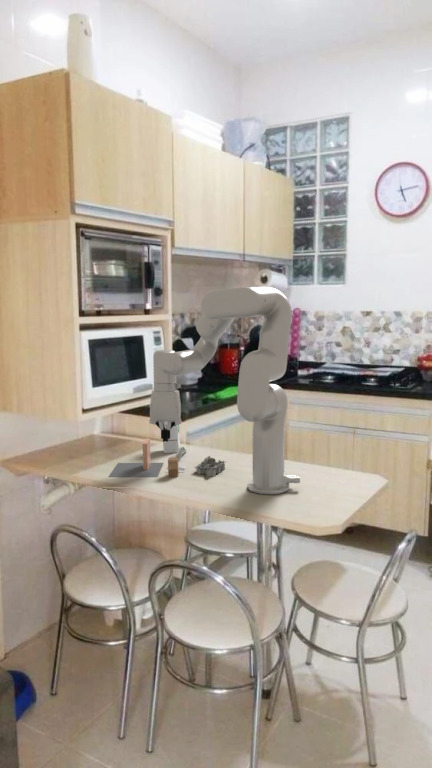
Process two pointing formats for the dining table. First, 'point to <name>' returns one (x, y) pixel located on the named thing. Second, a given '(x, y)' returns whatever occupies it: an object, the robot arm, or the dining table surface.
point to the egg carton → (210, 466)
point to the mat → (136, 470)
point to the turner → (174, 467)
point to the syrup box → (172, 440)
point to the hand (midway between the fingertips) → (165, 440)
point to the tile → (146, 454)
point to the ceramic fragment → (179, 453)
